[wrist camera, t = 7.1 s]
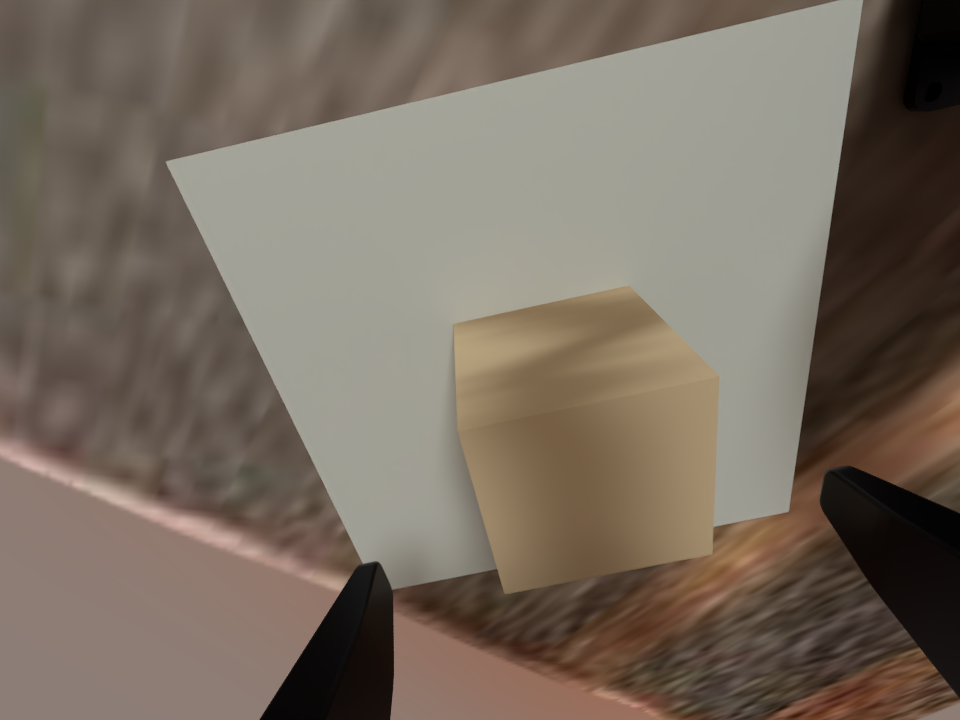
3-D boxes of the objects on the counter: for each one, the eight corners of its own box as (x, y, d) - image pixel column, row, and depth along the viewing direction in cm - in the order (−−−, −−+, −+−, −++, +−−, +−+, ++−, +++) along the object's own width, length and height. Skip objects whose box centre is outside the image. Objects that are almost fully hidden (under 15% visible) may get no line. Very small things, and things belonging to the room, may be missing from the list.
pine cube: (628, 285, 13) (719, 376, 9) (637, 427, 16) (712, 554, 11) (453, 323, 14) (457, 430, 9) (488, 458, 16) (504, 594, 12)
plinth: (779, 15, 13) (863, -6, 10) (744, 459, 21) (788, 512, 18) (218, 150, 14) (165, 161, 11) (385, 531, 21) (377, 592, 19)
